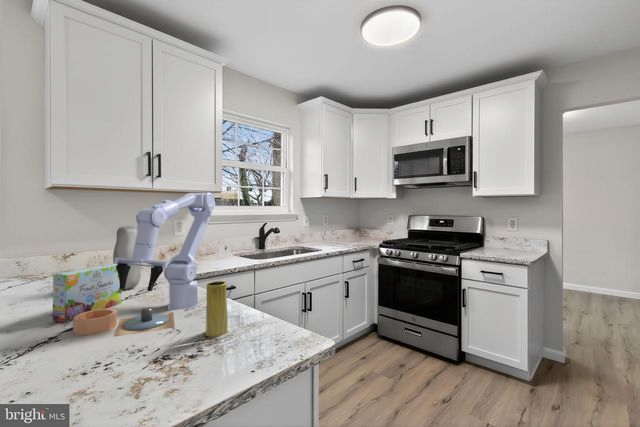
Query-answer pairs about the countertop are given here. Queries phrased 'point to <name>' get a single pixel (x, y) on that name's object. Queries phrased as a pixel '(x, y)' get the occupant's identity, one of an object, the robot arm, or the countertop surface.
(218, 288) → the vase
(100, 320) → the terracotta pot
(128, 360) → the countertop surface
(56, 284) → the snack box
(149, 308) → the lid
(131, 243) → the grey bottle
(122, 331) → the oak board
